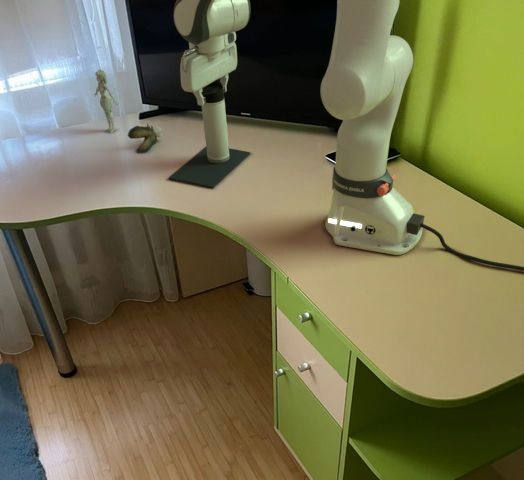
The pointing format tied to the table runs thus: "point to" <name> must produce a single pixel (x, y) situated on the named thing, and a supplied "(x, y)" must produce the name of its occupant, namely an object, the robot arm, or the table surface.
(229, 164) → the desk pad
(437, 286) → the table surface
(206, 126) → the travel mug
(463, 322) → the table surface
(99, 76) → the human figurine
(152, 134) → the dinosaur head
